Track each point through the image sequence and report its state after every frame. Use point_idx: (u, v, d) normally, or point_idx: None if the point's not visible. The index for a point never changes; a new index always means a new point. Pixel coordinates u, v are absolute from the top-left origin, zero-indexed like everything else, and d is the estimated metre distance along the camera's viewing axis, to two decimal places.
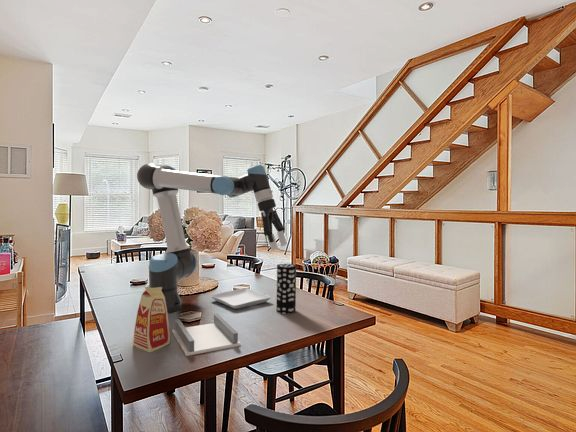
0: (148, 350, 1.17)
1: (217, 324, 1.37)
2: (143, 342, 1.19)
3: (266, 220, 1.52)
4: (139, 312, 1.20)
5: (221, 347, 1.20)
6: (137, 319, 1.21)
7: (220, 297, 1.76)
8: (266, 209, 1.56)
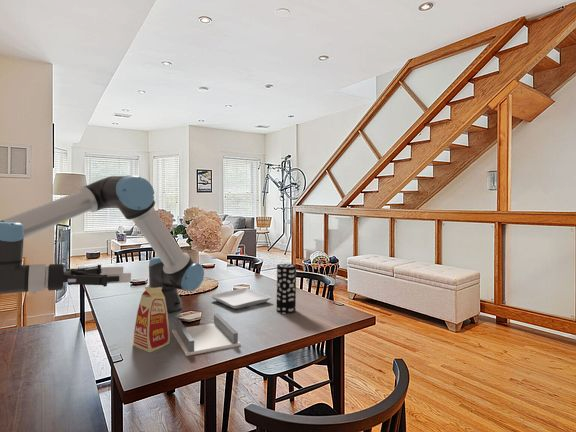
0: (148, 350, 1.17)
1: (217, 324, 1.37)
2: (143, 342, 1.19)
3: None
4: (139, 312, 1.20)
5: (221, 347, 1.20)
6: (137, 319, 1.21)
7: (220, 297, 1.76)
8: None
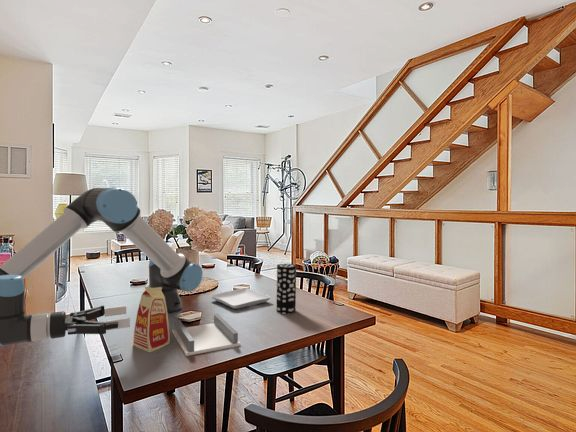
0: (148, 350, 1.17)
1: (217, 324, 1.37)
2: (143, 342, 1.19)
3: None
4: (139, 312, 1.20)
5: (221, 347, 1.20)
6: (137, 319, 1.21)
7: (220, 297, 1.76)
8: None
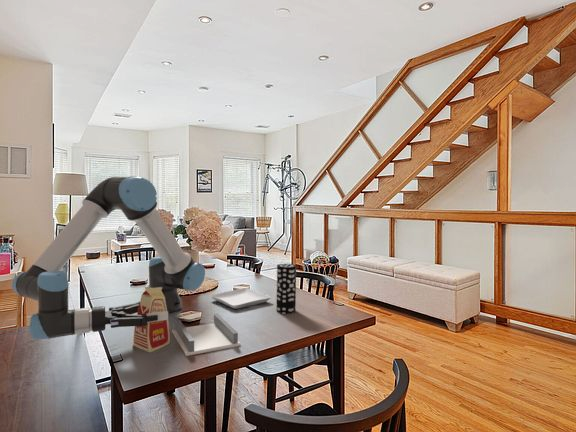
0: (148, 350, 1.17)
1: (217, 324, 1.37)
2: (143, 342, 1.19)
3: None
4: (139, 312, 1.20)
5: (221, 347, 1.20)
6: None
7: (220, 297, 1.76)
8: None
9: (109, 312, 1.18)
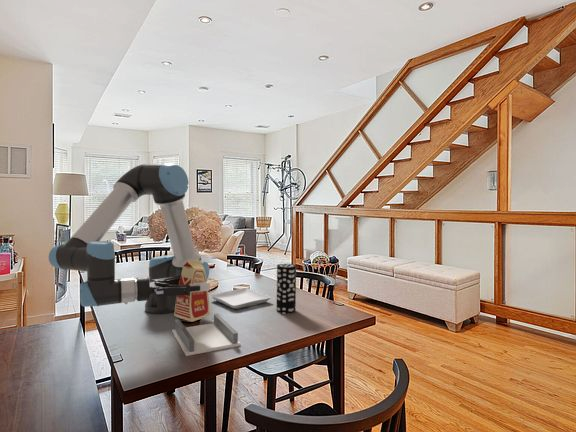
0: (190, 320, 1.20)
1: (217, 324, 1.37)
2: (185, 312, 1.22)
3: None
4: (181, 283, 1.23)
5: (221, 347, 1.20)
6: None
7: (220, 297, 1.76)
8: None
9: (152, 283, 1.21)
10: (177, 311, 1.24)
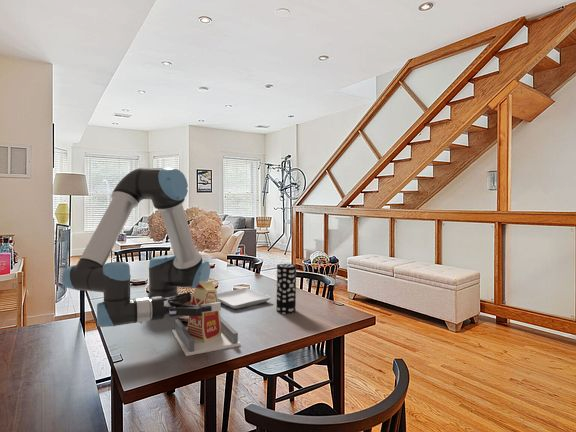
0: (203, 340, 1.23)
1: None
2: (198, 332, 1.24)
3: None
4: (193, 304, 1.26)
5: (221, 347, 1.20)
6: None
7: (220, 297, 1.76)
8: None
9: (166, 302, 1.23)
10: (189, 332, 1.27)
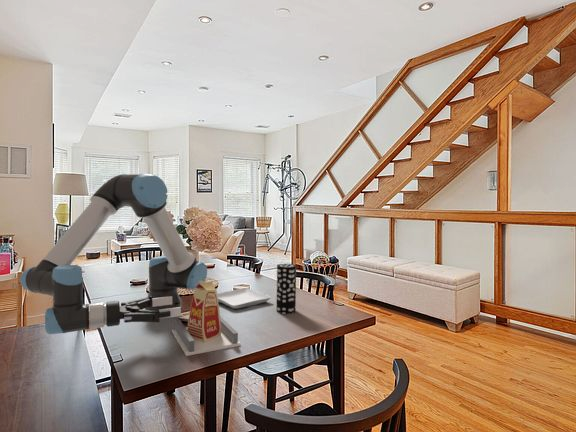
0: (203, 340, 1.23)
1: None
2: (198, 332, 1.24)
3: None
4: (193, 304, 1.26)
5: (221, 347, 1.20)
6: (191, 311, 1.26)
7: (220, 297, 1.76)
8: None
9: (124, 307, 1.17)
10: (189, 332, 1.27)
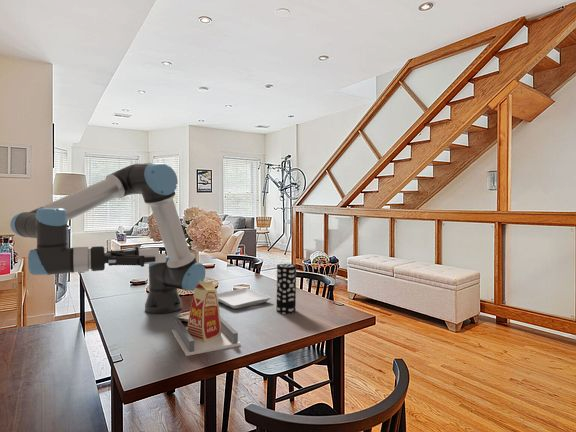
0: (203, 340, 1.23)
1: None
2: (198, 332, 1.24)
3: None
4: (193, 304, 1.26)
5: (221, 347, 1.20)
6: (191, 311, 1.26)
7: (220, 297, 1.76)
8: None
9: (109, 253, 1.17)
10: (189, 332, 1.27)
